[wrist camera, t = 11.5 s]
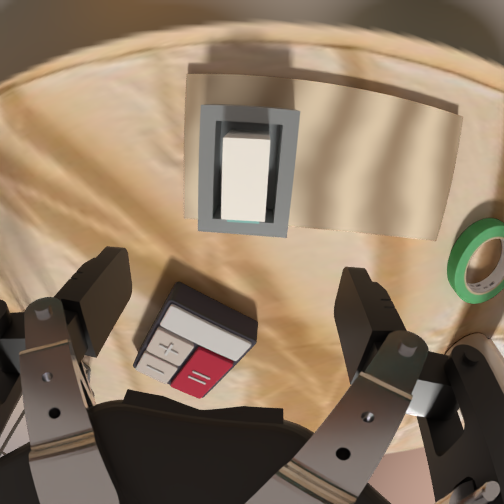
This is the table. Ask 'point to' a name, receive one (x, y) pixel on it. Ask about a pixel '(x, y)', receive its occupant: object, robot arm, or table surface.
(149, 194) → the table surface
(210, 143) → the end holder
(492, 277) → the tape roll
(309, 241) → the table surface
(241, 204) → the white block
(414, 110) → the beige mat
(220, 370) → the calculator
